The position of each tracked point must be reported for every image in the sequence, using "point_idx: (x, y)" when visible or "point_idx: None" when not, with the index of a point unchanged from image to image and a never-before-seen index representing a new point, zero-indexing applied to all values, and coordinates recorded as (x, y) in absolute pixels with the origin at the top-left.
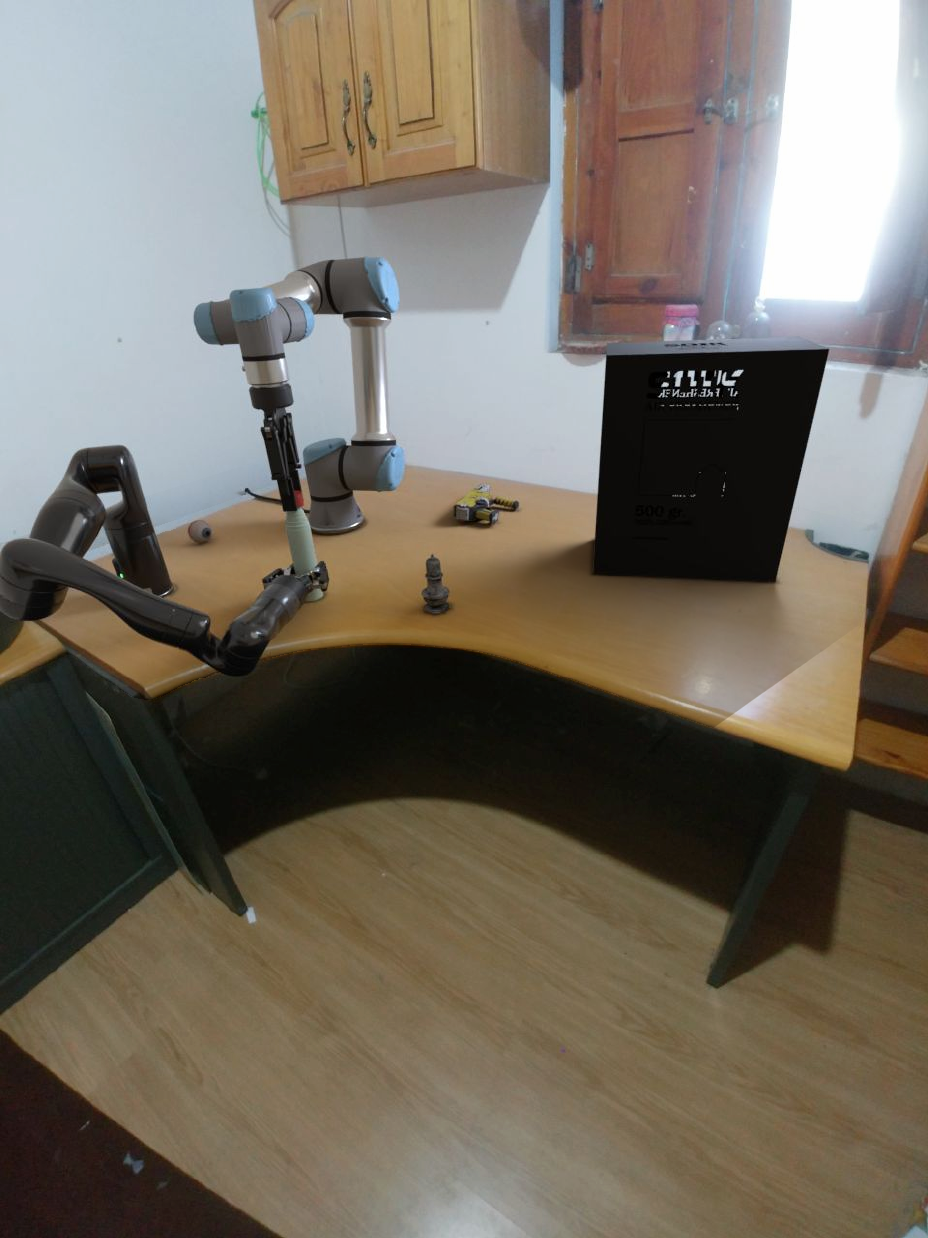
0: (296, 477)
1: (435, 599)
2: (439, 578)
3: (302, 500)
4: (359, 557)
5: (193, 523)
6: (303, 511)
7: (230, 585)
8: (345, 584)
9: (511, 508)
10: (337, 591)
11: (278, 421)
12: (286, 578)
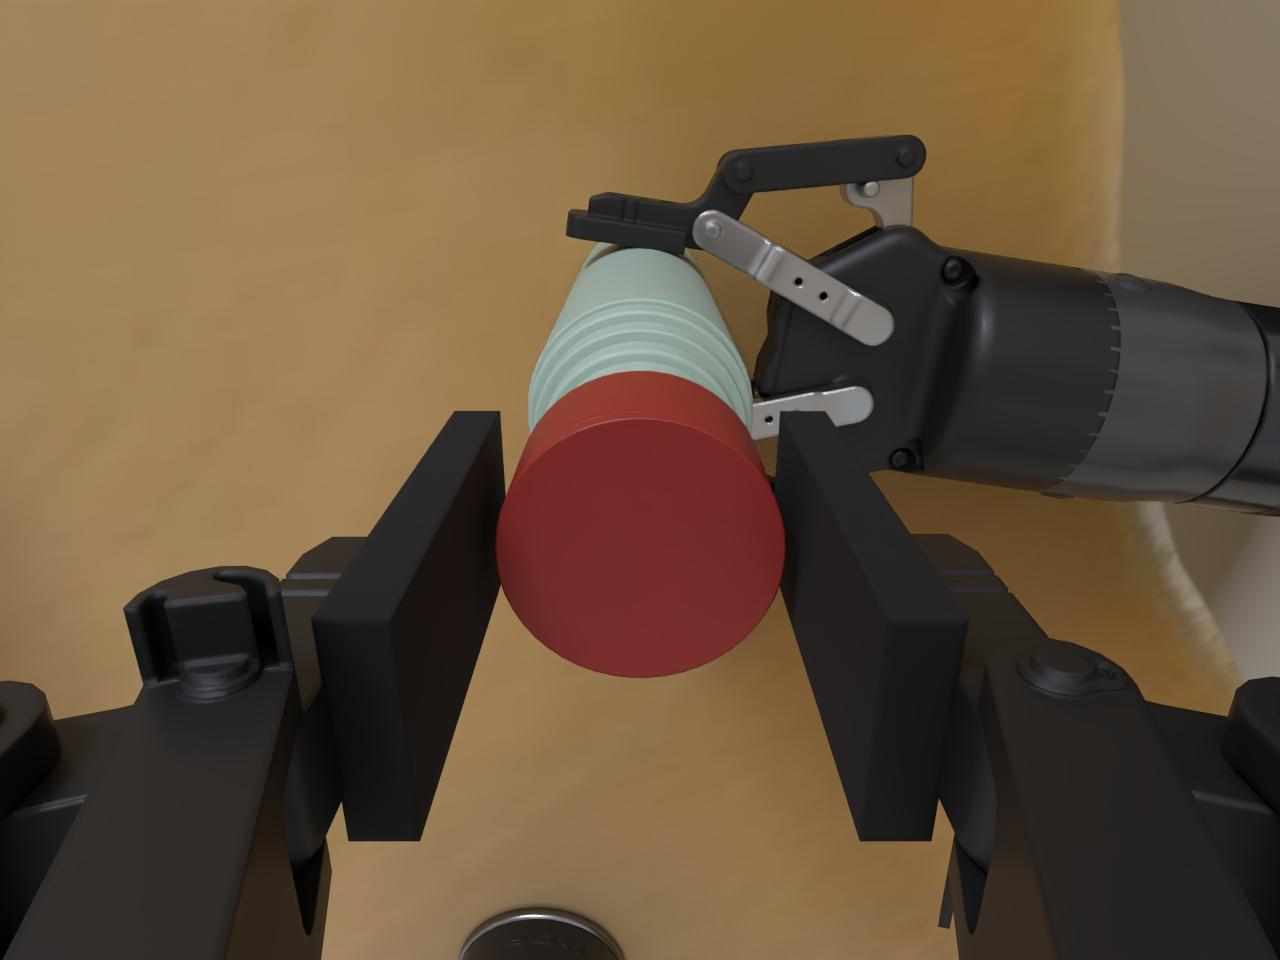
0: (426, 581)
1: None
2: None
3: (658, 388)
4: (98, 77)
5: None
6: (637, 369)
7: (485, 712)
8: (502, 110)
9: None
10: (592, 146)
11: None
12: (1030, 372)
